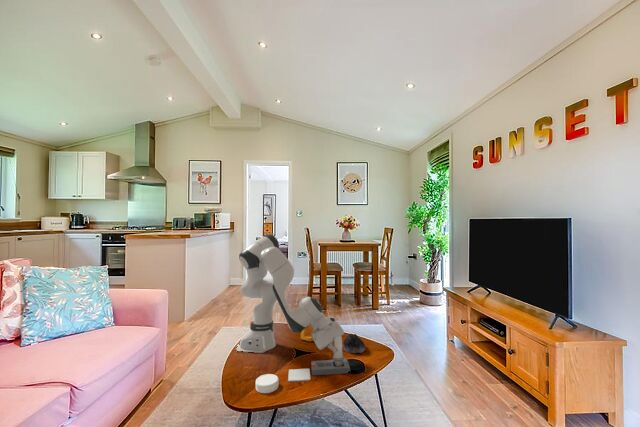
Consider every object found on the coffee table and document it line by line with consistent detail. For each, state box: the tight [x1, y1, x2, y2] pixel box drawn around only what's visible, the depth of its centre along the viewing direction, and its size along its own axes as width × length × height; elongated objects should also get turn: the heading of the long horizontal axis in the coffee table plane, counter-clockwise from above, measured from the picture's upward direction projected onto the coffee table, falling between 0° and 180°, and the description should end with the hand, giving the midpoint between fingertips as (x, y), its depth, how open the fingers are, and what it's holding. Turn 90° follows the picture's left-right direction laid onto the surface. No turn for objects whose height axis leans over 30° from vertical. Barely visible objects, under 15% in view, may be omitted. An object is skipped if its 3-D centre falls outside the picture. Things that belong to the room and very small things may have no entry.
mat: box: [287, 368, 311, 383], centre depth 136 cm, size 10×10×1 cm
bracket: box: [300, 324, 314, 342], centre depth 181 cm, size 11×7×12 cm, turn 144°
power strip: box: [310, 358, 351, 376], centre depth 141 cm, size 18×9×3 cm, turn 94°
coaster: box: [255, 373, 280, 394], centre depth 127 cm, size 10×10×4 cm
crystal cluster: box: [342, 333, 366, 354], centre depth 164 cm, size 13×14×10 cm
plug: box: [332, 336, 345, 366], centre depth 142 cm, size 6×6×13 cm
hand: (339, 349), depth 142 cm, fingers closed on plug, 4 cm apart
